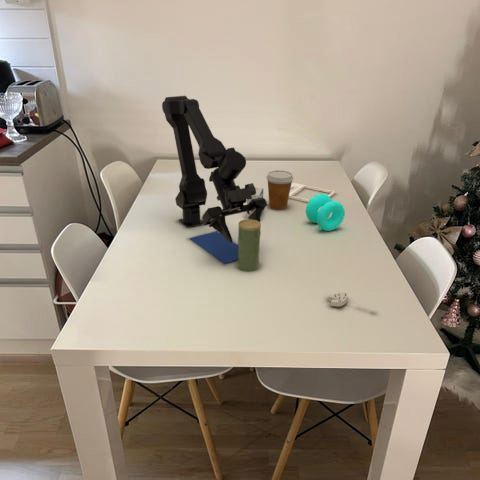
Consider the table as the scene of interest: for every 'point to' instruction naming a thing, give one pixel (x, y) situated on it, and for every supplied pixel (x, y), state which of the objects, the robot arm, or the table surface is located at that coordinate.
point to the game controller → (339, 299)
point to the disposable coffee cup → (279, 188)
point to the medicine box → (256, 196)
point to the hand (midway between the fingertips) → (245, 238)
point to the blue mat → (218, 246)
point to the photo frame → (297, 187)
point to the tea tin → (248, 244)
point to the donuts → (325, 212)
